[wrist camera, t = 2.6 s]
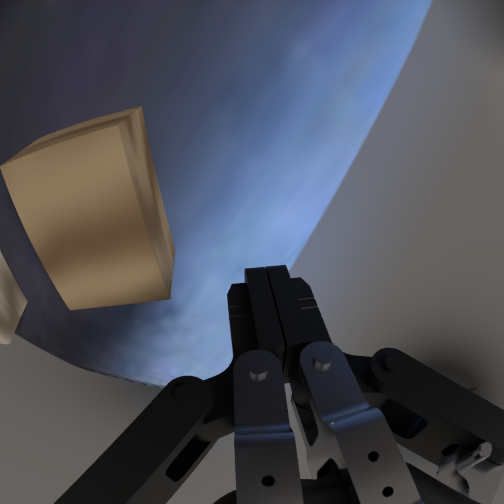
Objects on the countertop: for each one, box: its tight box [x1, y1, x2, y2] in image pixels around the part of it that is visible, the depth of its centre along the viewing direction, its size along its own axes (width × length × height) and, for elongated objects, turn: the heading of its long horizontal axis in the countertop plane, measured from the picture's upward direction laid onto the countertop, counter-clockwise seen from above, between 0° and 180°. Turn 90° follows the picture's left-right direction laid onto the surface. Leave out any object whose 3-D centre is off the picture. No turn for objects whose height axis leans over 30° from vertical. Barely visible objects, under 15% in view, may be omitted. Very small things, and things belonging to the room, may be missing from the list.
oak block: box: [0, 106, 175, 310], centre depth 16 cm, size 10×7×5 cm
